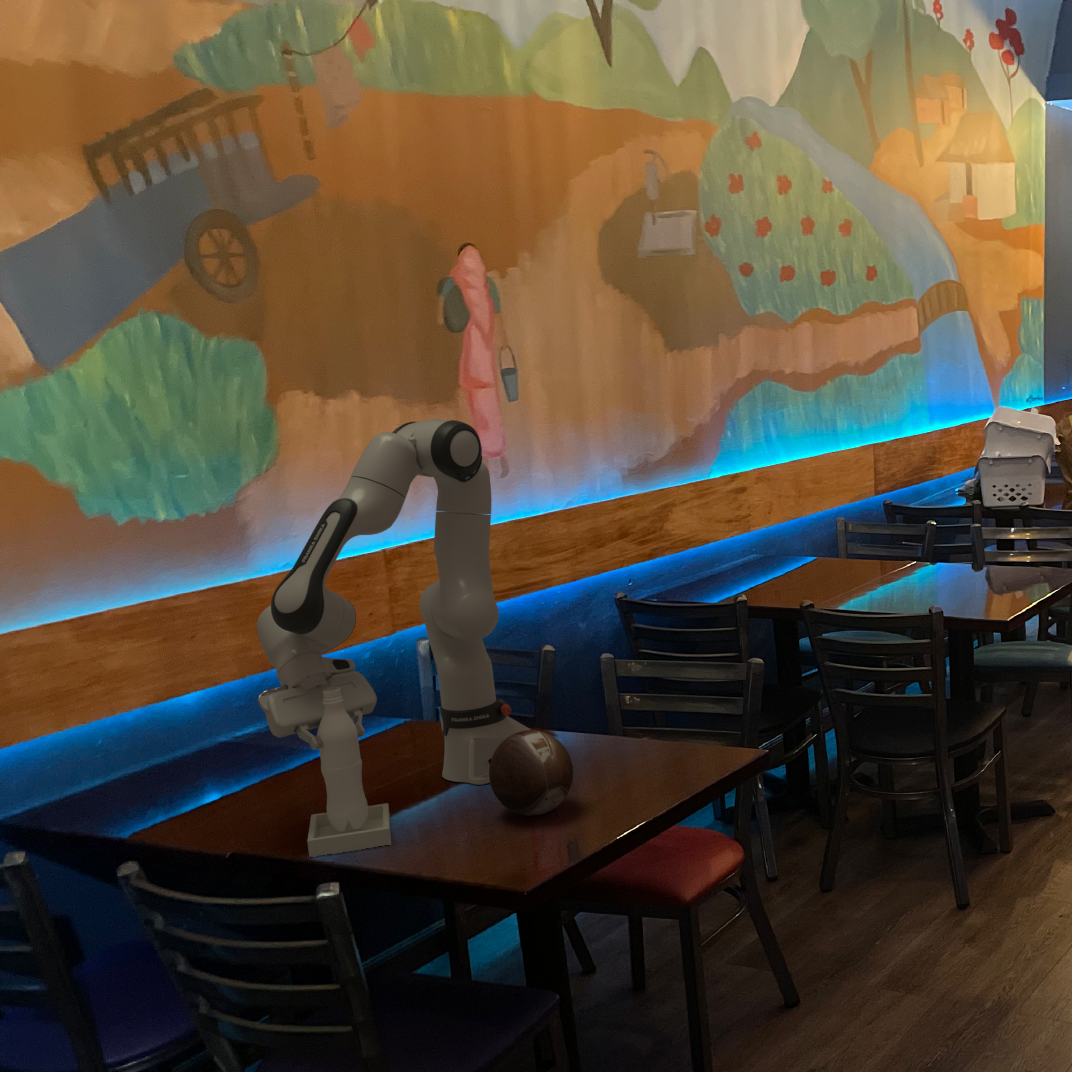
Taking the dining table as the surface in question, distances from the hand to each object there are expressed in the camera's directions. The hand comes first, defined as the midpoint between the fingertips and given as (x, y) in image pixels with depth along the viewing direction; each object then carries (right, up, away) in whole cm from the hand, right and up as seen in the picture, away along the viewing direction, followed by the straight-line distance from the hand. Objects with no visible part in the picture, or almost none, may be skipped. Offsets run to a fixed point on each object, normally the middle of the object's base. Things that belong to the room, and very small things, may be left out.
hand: (339, 741), depth 212 cm
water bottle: (+1, -16, +2) cm, 16 cm away
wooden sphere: (+34, -14, +4) cm, 37 cm away
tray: (+2, -18, +2) cm, 18 cm away
